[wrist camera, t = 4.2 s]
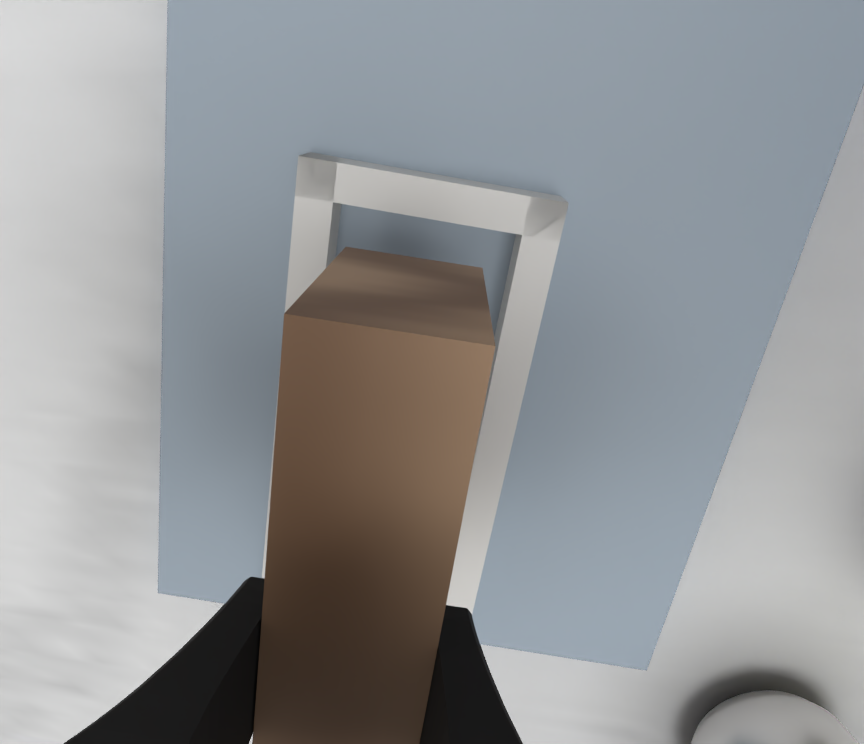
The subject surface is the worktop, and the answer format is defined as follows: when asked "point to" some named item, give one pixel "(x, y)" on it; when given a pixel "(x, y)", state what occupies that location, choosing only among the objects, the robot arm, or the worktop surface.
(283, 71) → the wall board
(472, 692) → the robot arm
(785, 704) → the plastic bottle
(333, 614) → the wooden block
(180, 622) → the worktop surface
